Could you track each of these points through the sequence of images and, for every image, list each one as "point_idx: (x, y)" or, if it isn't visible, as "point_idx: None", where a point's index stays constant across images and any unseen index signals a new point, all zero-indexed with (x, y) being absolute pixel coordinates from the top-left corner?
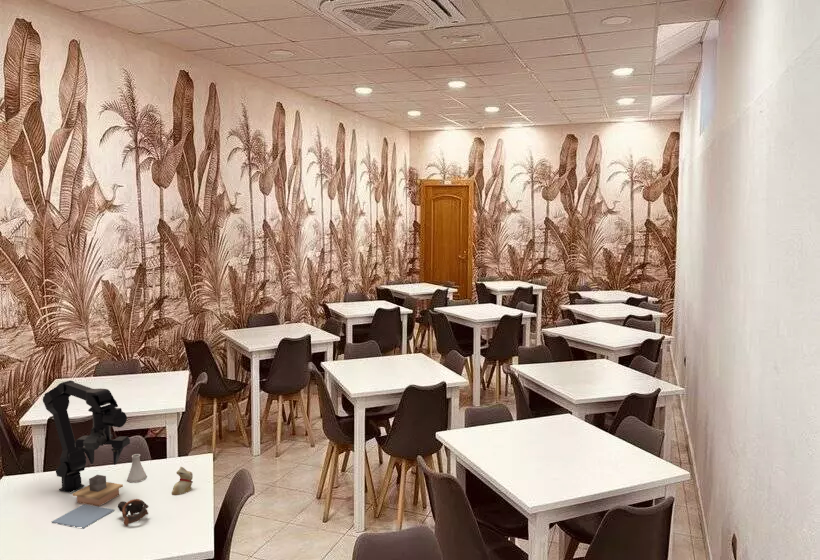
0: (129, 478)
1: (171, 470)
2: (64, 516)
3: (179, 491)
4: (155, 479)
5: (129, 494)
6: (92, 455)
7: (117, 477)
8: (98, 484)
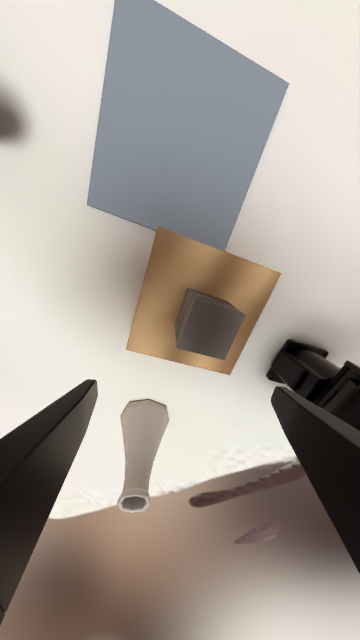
0: (156, 411)
1: (83, 460)
2: (252, 140)
3: None
4: (93, 418)
5: (111, 332)
6: (320, 461)
7: (201, 422)
8: (190, 297)
